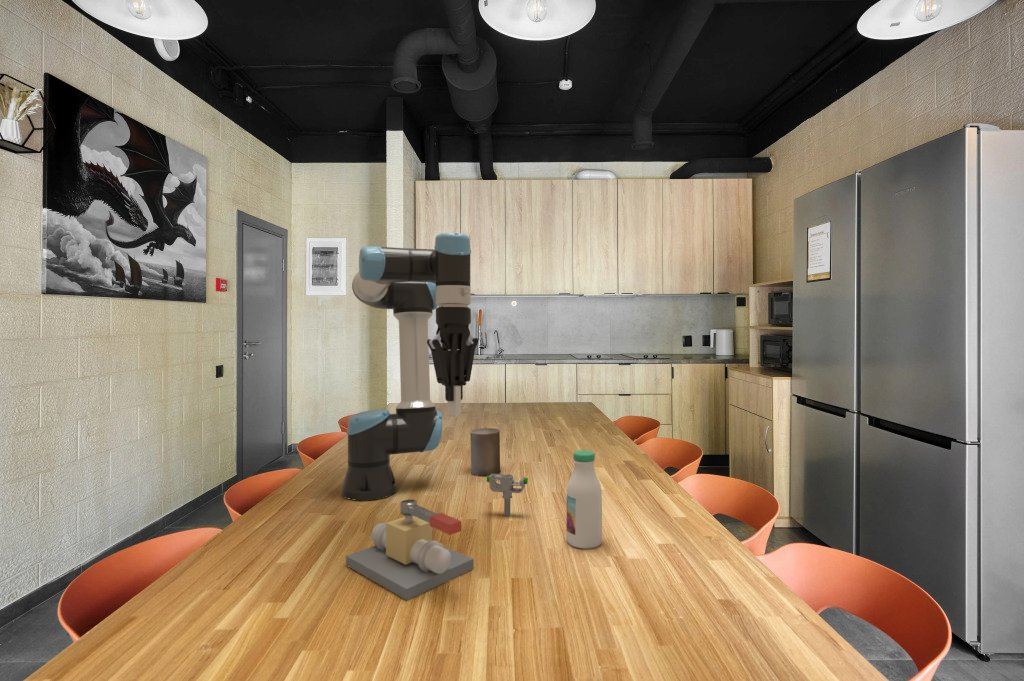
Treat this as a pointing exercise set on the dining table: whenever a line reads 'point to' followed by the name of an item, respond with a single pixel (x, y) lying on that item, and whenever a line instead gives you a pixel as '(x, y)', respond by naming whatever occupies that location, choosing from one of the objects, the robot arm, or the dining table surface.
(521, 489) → the mechanical component
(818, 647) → the dining table surface
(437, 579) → the pipe valve base
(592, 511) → the milk bottle
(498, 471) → the pillar candle
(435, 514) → the valve lever
